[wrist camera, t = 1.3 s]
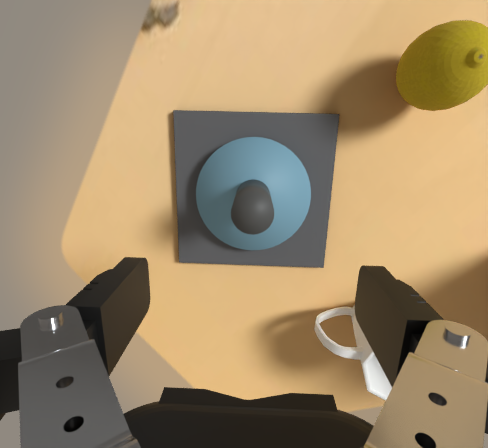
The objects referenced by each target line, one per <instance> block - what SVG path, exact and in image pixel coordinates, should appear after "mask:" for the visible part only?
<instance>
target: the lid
mask: <svg viewBox="0 0 488 448" xmlns="http://www.w3.org/2000/svg"><path fill="white" fill-rule="evenodd" d="M310 200H311V187H310V181H309V177H308V174H307V172H306V170H305V168H304V166H303V164H302V162H301V161H300V160H299V159H298V157H297V156H296V155H295V154H294V153H293V152H292V151H291V150H289V149H288V148H287V147H285V146H284V145H282V144H280V143H278V142H276V141H273V140H271V139H267V138H263V137H245V138H240V139H237V140H234V141H231V142H229V143H227V144H225V145H223V146H222V147H220V148H219V149H218V150H216V151H215V152H214V153H213V154H212V155H211V156H210V157H209V159H208V160H207V161H206V163H205V164H204V166H203V168H202V170H201V172H200V174H199V177H198V181H197V186H196V201H197V206H198V210H199V213H200V216H201V218H202V220H203V222H204V223H205V225H206V226H207V228H208V229H209V230H210V231H211V232H212V233H213V234H214V235H215V236H216V237H217V238H218V239H220V240H221V241H223V242H224V243H226V244H228V245H230V246H233V247H236V248H239V249H244V250H263V249H268V248H271V247H274V246H276V245H279V244H281V243H282V242H284V241H286V240H287V239H288V238H290V237H291V236H292V235H293V234H294V233H295V232H296V231H297V230H298V229H299V227H300V226H301V225H302V223H303V221H304V220H305V218H306V215H307V213H308V210H309V206H310Z"/></svg>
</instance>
